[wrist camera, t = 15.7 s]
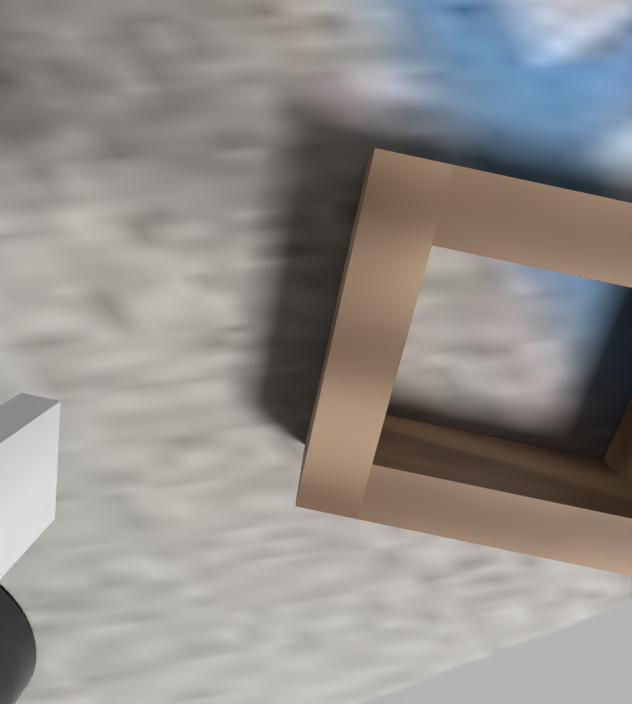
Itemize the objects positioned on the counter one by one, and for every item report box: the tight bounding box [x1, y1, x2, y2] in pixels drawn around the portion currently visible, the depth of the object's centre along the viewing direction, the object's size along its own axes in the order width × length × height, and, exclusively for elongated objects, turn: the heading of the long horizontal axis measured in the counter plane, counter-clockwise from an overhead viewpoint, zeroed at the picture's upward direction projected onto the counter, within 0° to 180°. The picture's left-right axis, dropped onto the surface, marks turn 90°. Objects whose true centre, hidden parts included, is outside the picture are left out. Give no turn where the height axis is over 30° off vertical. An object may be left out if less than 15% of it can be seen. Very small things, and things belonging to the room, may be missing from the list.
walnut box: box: [295, 148, 632, 576], centre depth 23 cm, size 16×20×6 cm
